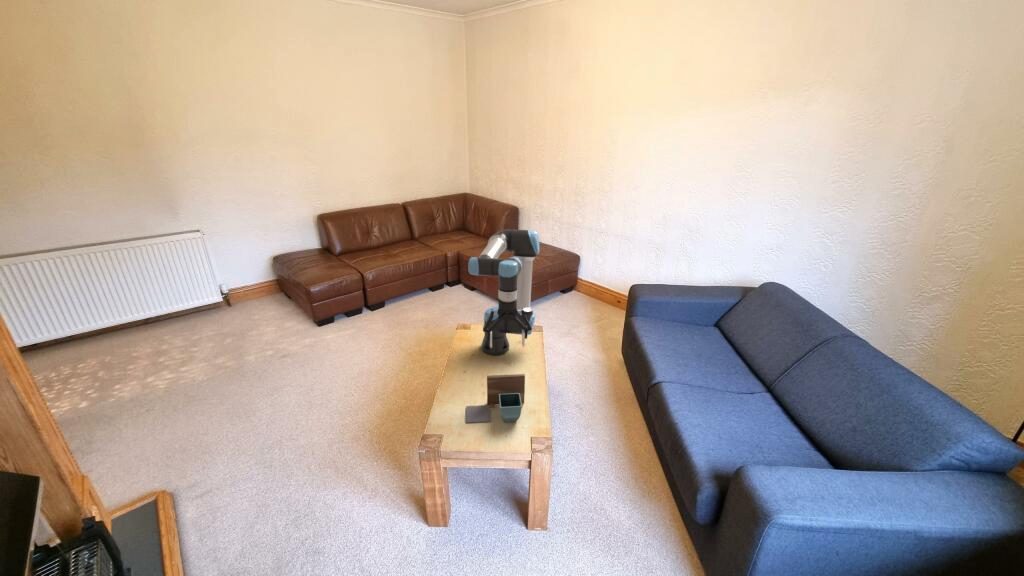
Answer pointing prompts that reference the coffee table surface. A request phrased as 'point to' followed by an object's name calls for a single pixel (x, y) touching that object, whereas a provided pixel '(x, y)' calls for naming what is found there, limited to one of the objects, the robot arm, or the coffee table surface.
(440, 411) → the coffee table surface
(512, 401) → the flower pot
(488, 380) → the screen
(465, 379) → the coffee table surface
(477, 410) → the mat
